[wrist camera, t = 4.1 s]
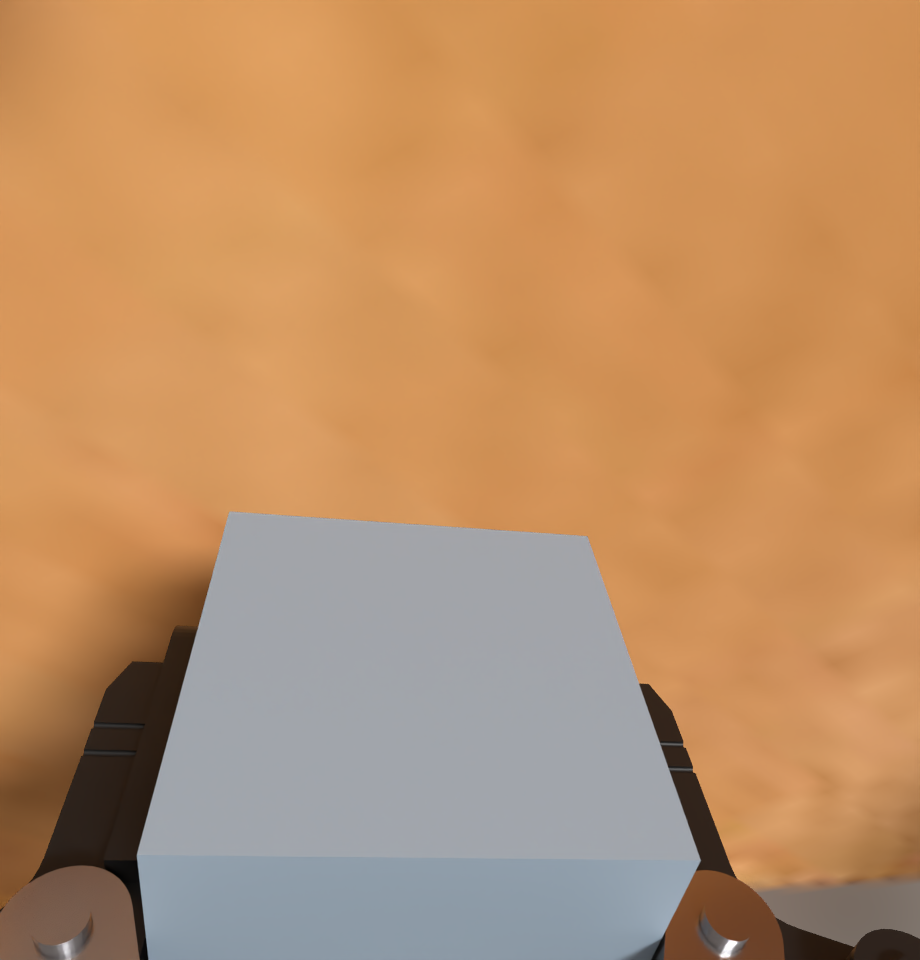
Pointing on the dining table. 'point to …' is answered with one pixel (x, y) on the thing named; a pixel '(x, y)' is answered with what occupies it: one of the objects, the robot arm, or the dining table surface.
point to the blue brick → (410, 756)
